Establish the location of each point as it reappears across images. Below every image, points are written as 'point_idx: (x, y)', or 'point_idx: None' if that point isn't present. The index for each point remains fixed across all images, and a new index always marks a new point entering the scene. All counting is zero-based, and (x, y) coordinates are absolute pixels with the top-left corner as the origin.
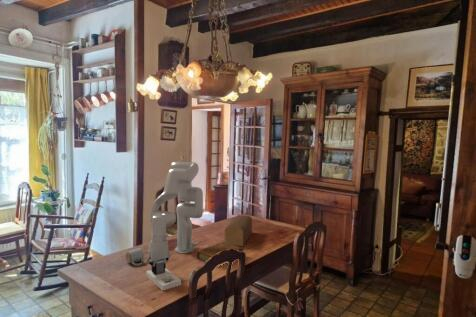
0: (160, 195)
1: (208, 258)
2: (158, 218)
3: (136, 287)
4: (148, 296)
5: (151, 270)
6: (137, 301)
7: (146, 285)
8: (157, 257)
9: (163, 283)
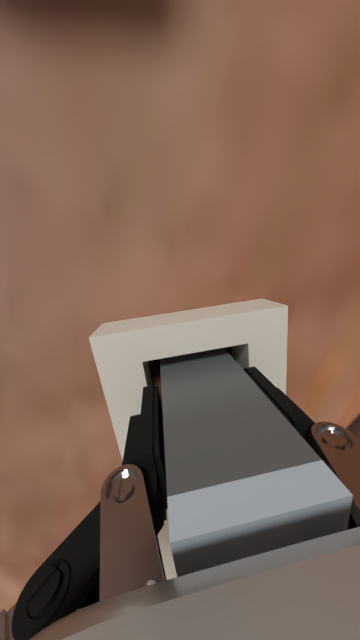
0: None
1: None
2: None
3: (3, 471)
4: None
5: (147, 344)
6: (4, 596)
7: (78, 466)
8: None
9: (170, 565)
